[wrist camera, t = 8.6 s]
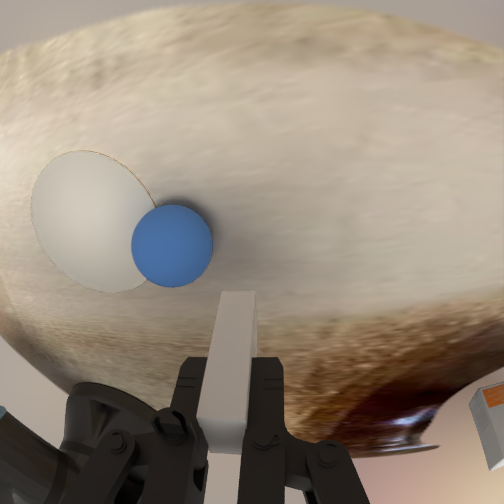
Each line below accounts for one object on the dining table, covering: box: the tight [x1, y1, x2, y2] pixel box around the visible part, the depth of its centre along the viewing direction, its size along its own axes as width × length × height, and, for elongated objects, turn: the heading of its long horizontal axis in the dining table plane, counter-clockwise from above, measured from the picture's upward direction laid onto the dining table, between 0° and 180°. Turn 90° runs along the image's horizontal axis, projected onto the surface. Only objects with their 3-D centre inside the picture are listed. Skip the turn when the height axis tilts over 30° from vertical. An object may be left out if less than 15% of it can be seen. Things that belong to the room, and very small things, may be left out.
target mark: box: [31, 151, 155, 293], centre depth 24 cm, size 13×13×1 cm
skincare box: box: [469, 382, 504, 471], centre depth 28 cm, size 6×4×12 cm
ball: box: [131, 205, 213, 287], centre depth 21 cm, size 6×6×6 cm
